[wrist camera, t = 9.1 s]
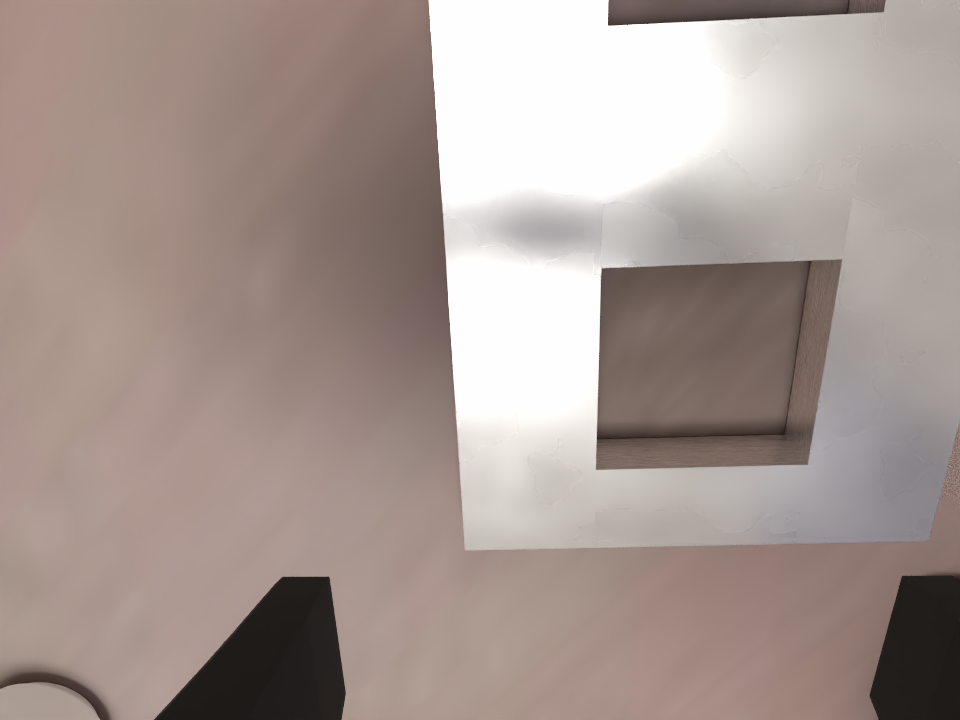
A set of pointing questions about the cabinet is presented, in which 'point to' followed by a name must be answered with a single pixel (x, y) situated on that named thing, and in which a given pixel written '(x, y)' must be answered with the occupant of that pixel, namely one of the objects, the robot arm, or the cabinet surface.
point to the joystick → (43, 703)
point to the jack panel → (700, 261)
